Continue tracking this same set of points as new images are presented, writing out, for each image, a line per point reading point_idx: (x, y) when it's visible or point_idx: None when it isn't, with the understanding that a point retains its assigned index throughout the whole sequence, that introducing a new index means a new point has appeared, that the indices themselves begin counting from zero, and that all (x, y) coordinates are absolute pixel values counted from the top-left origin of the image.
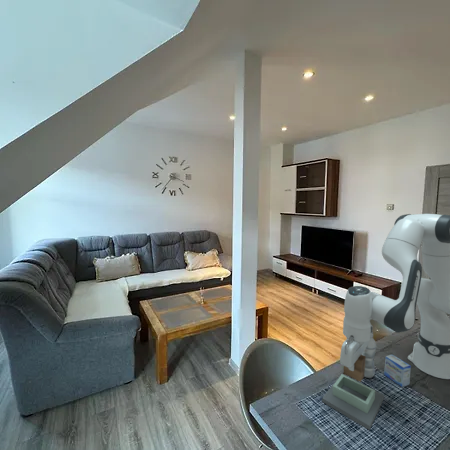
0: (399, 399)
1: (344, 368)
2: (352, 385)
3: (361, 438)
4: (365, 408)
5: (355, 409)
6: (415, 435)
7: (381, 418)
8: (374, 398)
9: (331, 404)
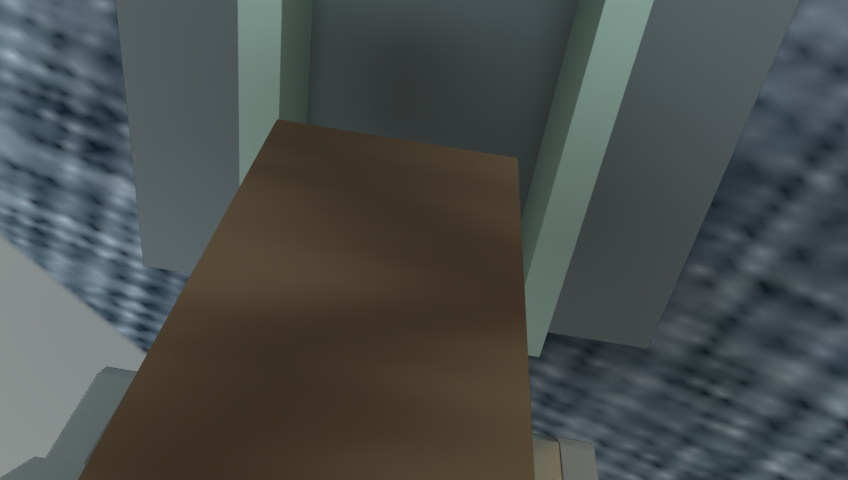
0: (700, 411)
1: (241, 207)
2: (564, 91)
3: (24, 198)
4: None
5: (238, 144)
6: None
7: None
8: None
9: None
